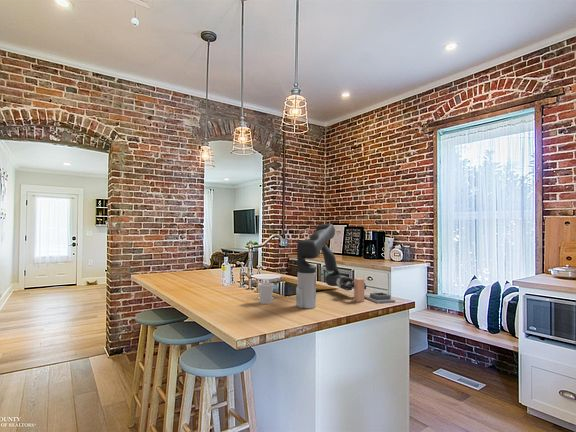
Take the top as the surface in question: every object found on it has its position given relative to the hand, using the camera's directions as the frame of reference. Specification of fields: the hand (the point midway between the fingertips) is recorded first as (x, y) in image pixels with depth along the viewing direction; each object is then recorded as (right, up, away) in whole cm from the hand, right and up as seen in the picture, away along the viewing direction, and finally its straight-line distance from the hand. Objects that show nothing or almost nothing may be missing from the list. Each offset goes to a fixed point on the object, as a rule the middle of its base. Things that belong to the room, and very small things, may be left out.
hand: (358, 287), depth 182 cm
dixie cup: (-50, -7, -7) cm, 51 cm away
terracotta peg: (0, -7, -1) cm, 7 cm away
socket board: (+12, -7, +3) cm, 14 cm away
